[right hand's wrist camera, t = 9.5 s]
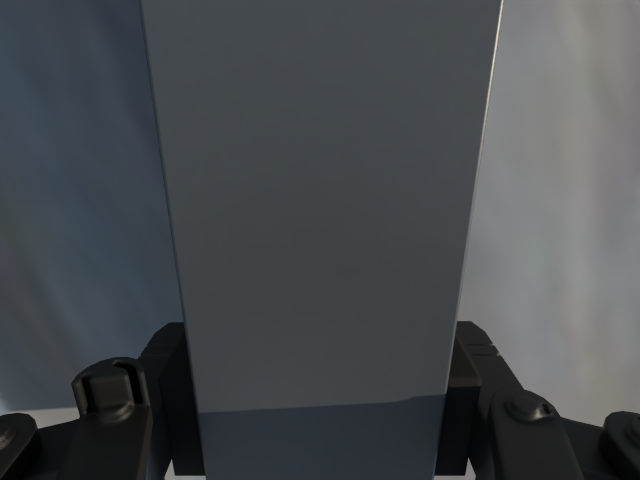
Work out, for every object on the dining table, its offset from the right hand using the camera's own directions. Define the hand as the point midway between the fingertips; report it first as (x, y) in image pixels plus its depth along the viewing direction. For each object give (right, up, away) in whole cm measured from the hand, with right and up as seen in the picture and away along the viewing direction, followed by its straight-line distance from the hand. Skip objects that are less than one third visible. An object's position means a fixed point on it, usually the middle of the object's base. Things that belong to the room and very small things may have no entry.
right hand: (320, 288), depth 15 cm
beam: (0, +22, -7) cm, 23 cm away
